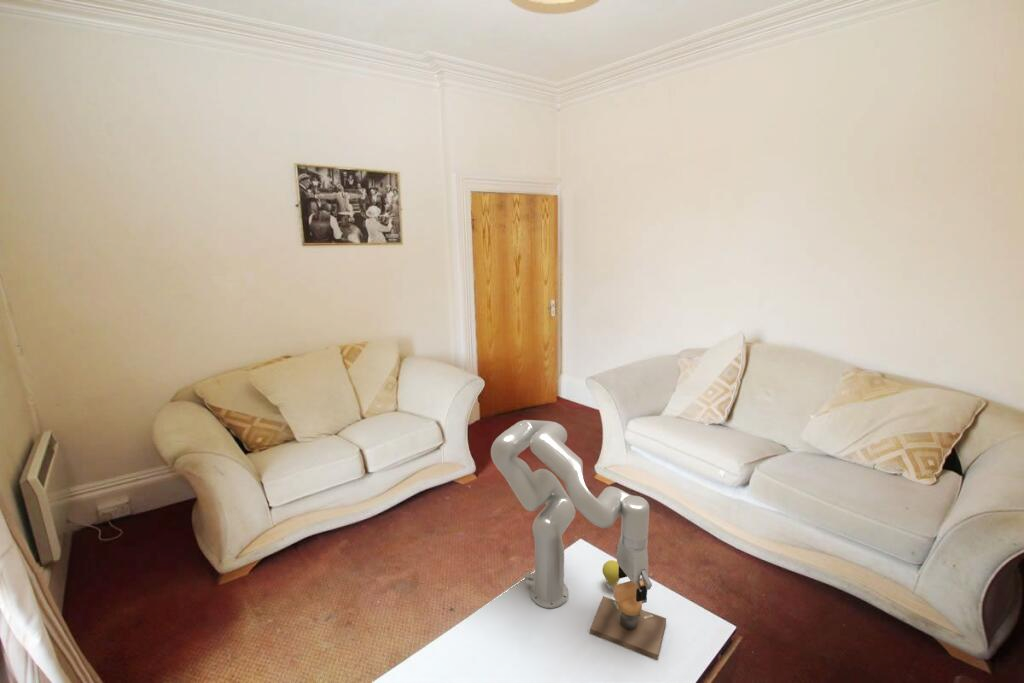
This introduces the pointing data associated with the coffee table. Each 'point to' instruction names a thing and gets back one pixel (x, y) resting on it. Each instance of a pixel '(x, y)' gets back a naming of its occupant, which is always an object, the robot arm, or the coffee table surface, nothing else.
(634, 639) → the post board
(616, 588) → the orange bar knob
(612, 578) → the light bulb
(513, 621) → the coffee table surface
